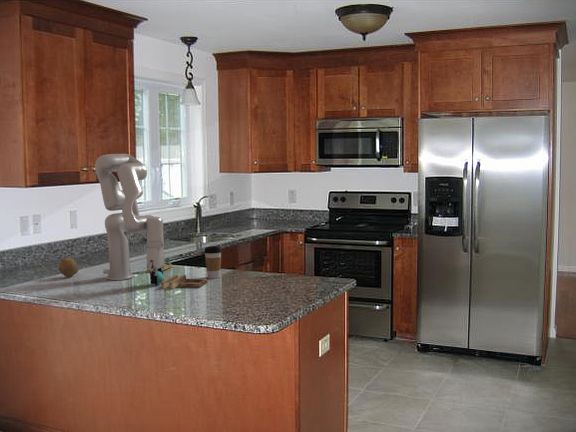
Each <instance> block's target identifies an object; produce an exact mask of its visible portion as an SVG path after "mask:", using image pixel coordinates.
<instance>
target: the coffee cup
mask: <svg viewBox="0 0 576 432" xmlns="http://www.w3.org/2000/svg"><path fill="white" fill-rule="evenodd" d="M203 252H204V256H205V257H204V259H205V266H206V273H207V278H208V279H209V280H210V279H214V278H215V279H219V278H221V265H222V249H221V246H217V245H210V246H205V247H204V251H203Z"/></svg>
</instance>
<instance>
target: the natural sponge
mask: <svg viewBox="0 0 576 432" xmlns="http://www.w3.org/2000/svg"><path fill="white" fill-rule="evenodd" d="M58 266H59V267H58V271H59V272H60V274H61V275H63V276H64V277H66V278H68V279H69V278H72V277H73V276H74V275H76V274H78V272H79V266H78V264H77V262H76V260H75V259H73V258H71V257H65V258H62V260H61V261H60V262H59V265H58Z"/></svg>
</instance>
